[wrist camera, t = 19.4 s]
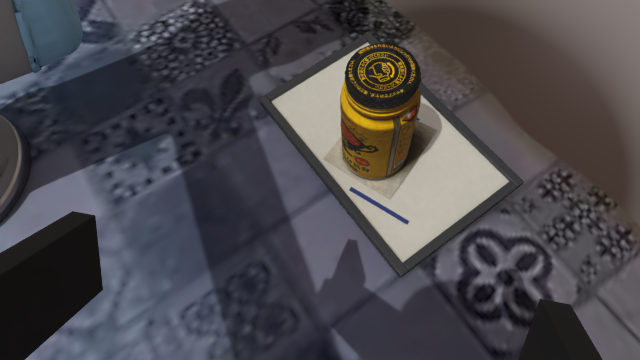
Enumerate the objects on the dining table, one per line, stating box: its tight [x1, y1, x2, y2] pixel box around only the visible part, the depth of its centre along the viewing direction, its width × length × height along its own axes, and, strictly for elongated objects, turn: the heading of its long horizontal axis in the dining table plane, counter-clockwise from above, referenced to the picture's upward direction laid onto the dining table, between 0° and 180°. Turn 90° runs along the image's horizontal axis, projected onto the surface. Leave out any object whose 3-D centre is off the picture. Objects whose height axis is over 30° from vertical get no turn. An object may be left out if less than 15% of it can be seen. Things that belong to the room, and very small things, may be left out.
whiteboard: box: [259, 32, 524, 278], centre depth 40 cm, size 22×14×1 cm, turn 36°
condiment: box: [323, 43, 438, 200], centre depth 35 cm, size 7×8×12 cm
